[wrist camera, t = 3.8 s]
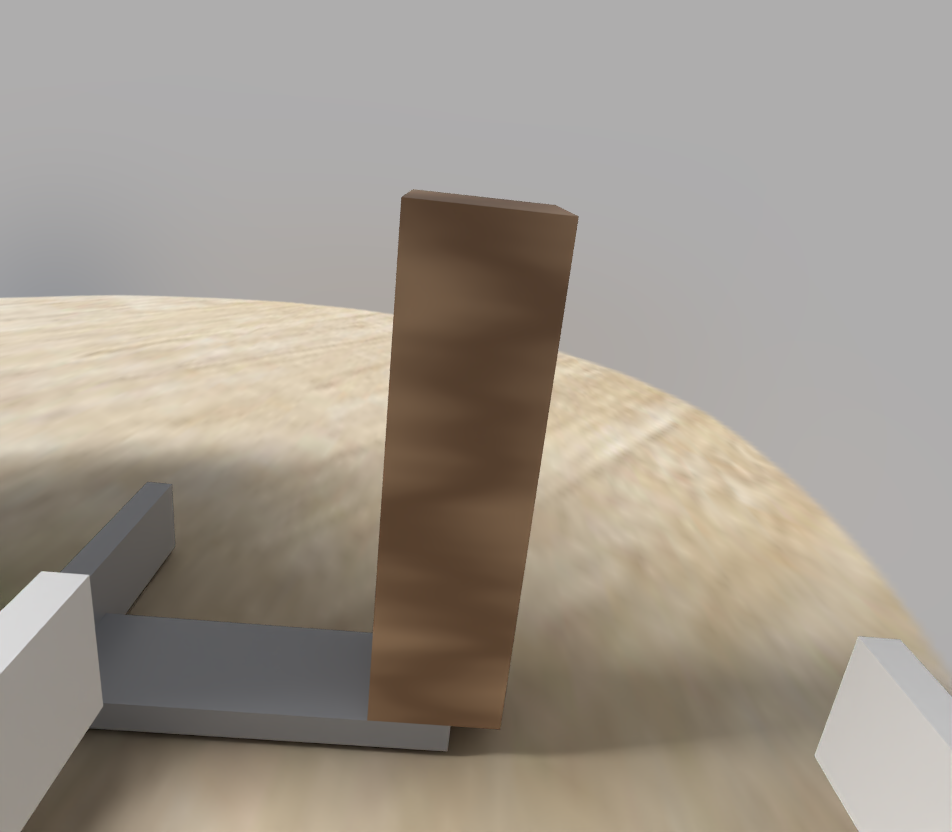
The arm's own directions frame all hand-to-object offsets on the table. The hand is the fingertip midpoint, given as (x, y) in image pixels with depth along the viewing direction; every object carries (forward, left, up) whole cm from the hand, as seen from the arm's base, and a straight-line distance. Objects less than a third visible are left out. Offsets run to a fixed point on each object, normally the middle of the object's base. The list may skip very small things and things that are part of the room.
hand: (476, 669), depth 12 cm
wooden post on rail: (-6, +8, -9) cm, 13 cm away
